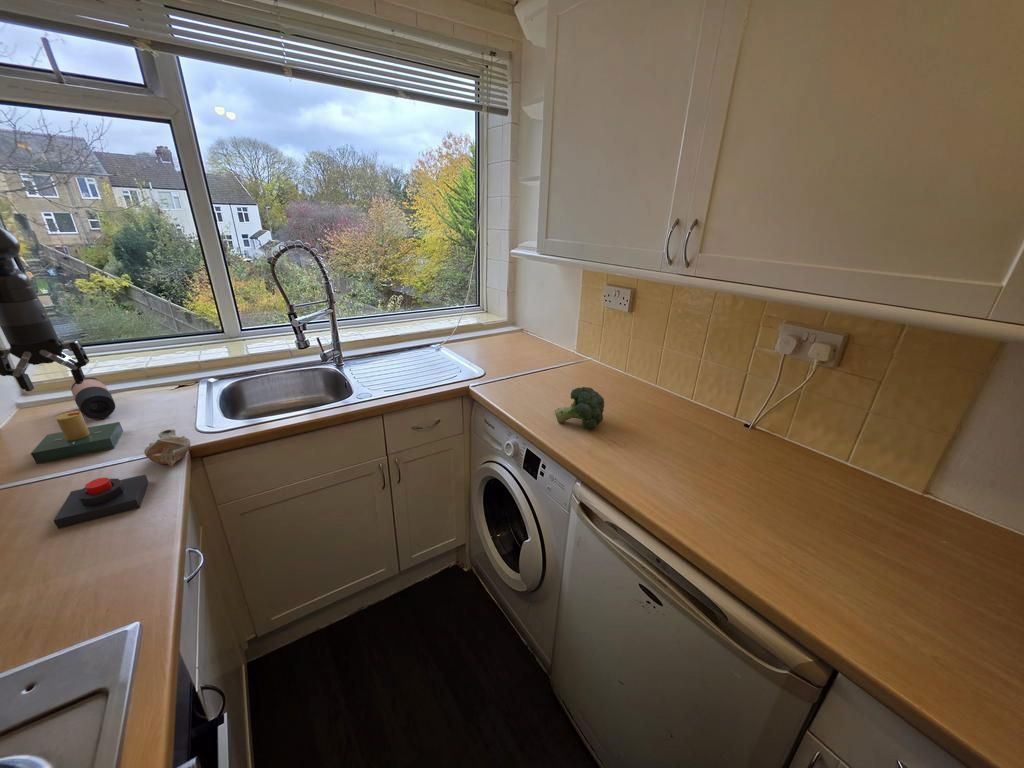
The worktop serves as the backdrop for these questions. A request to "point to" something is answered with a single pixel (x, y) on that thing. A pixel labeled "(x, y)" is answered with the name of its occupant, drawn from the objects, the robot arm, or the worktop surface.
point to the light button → (98, 486)
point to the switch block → (102, 502)
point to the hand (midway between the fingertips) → (55, 386)
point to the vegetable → (583, 408)
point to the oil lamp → (168, 448)
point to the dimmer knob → (73, 425)
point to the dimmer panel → (77, 443)
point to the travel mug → (93, 398)
